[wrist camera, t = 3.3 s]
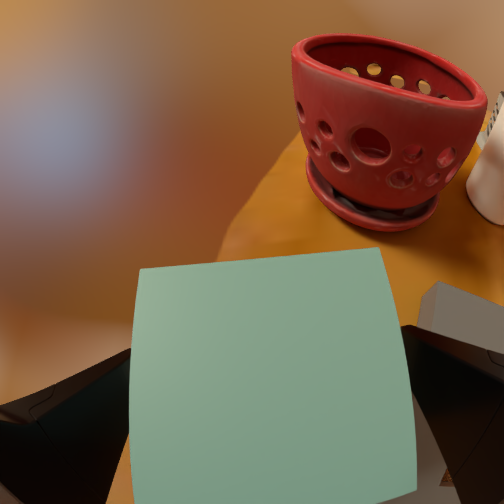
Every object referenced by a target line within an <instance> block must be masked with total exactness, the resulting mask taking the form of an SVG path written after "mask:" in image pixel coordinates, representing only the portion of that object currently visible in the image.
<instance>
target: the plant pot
mask: <svg viewBox="0 0 504 504" xmlns="http://www.w3.org/2000/svg"><path fill="white" fill-rule="evenodd" d="M291 53H292V55H291V56H292V78H293V87H294V98H295V105H296V110H297V116H298V121H299V126H300V129H301V133H302V137H303V140H304V143H305V145H306V148H307V150H308V152H309V153H308V156H307V159H306V174H307V178H308V182H309V184H310V186H311V188H312V190H313V192H314V193H315V195H316V196H317V197H318V198H319V200H320V201H321V202H322V203H323V204H324V205H325V206H326V207H327V208H328V209H330V210H331V211H332V212H334V213H335V214H337V215H338V216H340V217H341V218H343V219H345V220H347V221H349V222H351V223H353V224H355V225H358V226H361V227H364V228H367V229H372V230H376V231H389V232H393V231H402V230H407V229H410V228H413V227H416V226H418V225H420V224H422V223H423V222H425V221H426V220H428V219H429V218H430V217H431V215H432V214H433V213H434V211H435V210H436V208H437V205H438V202H439V196H440V193H439V191H441V190H442V189H443V188H444V187H445V186H446V185H447V184H448V183H449V182H450V181H451V179H452V178H453V177H454V175H455V174H456V173H457V171H458V170H459V168H460V167H461V165H462V164H463V162H464V161H465V160H466V158H467V156H468V155H469V153H470V151H471V149H472V147H473V145H474V143H475V141H476V139H477V137H478V134H479V132H480V130H481V127H482V124H483V121H484V118H485V114H486V110H487V104H488V101H487V97H486V94H485V92H484V91H483V89H482V88H481V86H480V85H479V84H478V83H477V82H476V81H475V80H474V79H473V78H471V77H470V76H469V75H468V74H467V73H465V72H464V71H462V70H461V69H460V68H458V67H457V66H455V65H454V64H452V63H450V62H449V61H447V60H445V59H443V58H441V57H439V56H437V55H435V54H432V53H430V52H428V51H426V50H423V49H420V48H418V47H415V46H412V45H409V44H405V43H402V42H398V41H395V40H390V39H386V38H381V37H376V36H369V35H361V34H346V33H335V34H323V35H317V36H313V37H310V38H306V39H303V40H302V41H299V42H298V43H297V44H295V46H294V47H293V49H292V51H291ZM372 63H375V64H378V65H379V66H380V67H381V72H380V73H379V74H378V75H371V74H369V73H368V71H367V66H368V65H369V64H372ZM346 67H350V68H353V69H355V70H356V71H357V72H358V74H359V77H357V76H355V75H351V74H348V73H346V72H343V71H341V70H342V69H343V68H346ZM394 75H398V76H401V77H402V78H403V79H404V86H403V87H402V88H396V87H394V86H393V85H392V84H391V82H390V80H391V78H392V76H394ZM420 80H423V81H426V82H427V83H428V84H429V85H430V87H431V91H430V94H427V95H426V94H424V93H422V92H421V91H420V89H419V87H418V84H419V81H420ZM443 97H448V98H449V99H450V100H446V99H442V98H443Z"/></svg>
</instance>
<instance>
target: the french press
mask: <svg viewBox="0 0 504 504" xmlns="http://www.w3.org/2000/svg"><path fill="white" fill-rule="evenodd" d="M503 102H504V92H502V91H501V92H500V94H499V97H498V100H497V103H496V105H498V110H497V109H496V105H495V108H494V111H493V113H495V117H494V116H493V113H492V115H491V118H490V120H492V123H490V120H489V124H488V125H487V128H486V130H485V131H483V132H479V134H478V137H477V139H476V140H477V143H478V145H479V146H480V148H481V150H483V147H484V145H485V143H486V141H487V139H488V137H489V135H490V132H491V130H492V128H493V125H494V121H496V118H497V116H498V114H499V111H500V109H501V106H502V104H503Z"/></svg>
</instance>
